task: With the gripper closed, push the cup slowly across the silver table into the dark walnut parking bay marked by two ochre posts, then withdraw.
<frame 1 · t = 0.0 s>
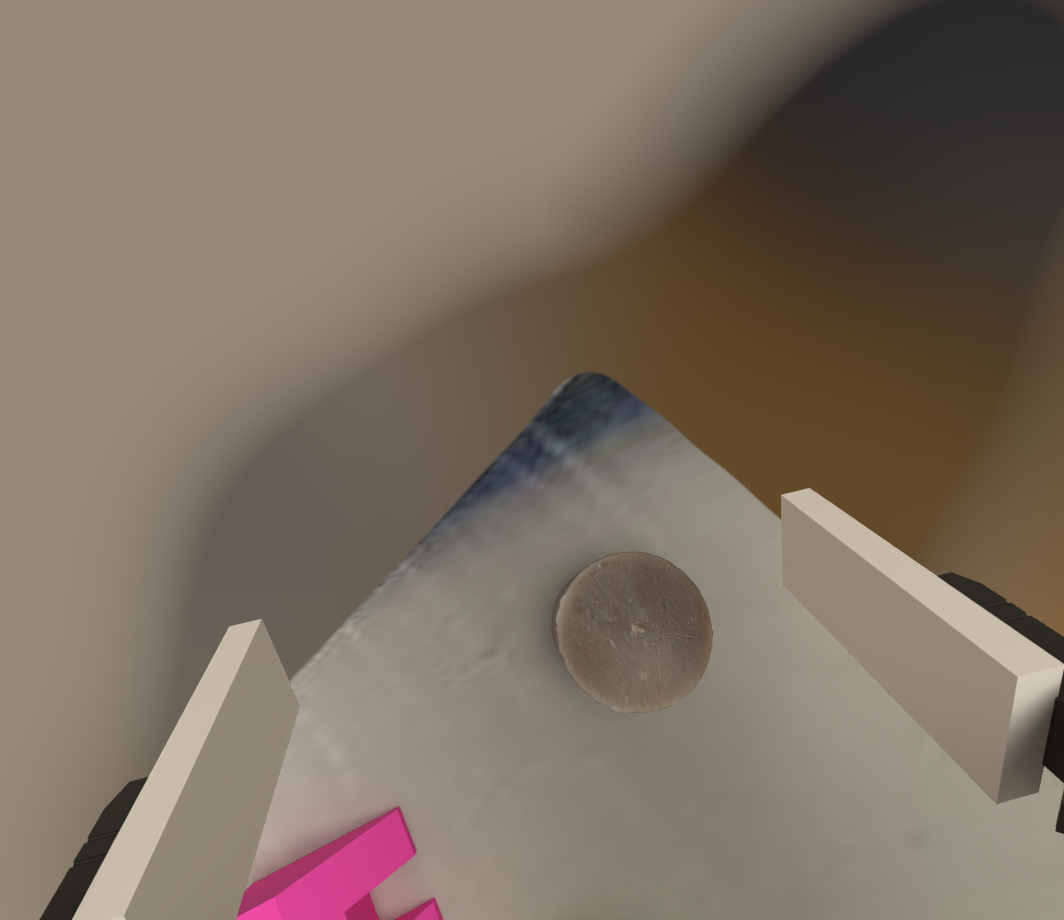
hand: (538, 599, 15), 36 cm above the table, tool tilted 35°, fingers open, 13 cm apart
bracket: (352, 912, 44), on the table
pillar candle: (606, 624, 50), on the table
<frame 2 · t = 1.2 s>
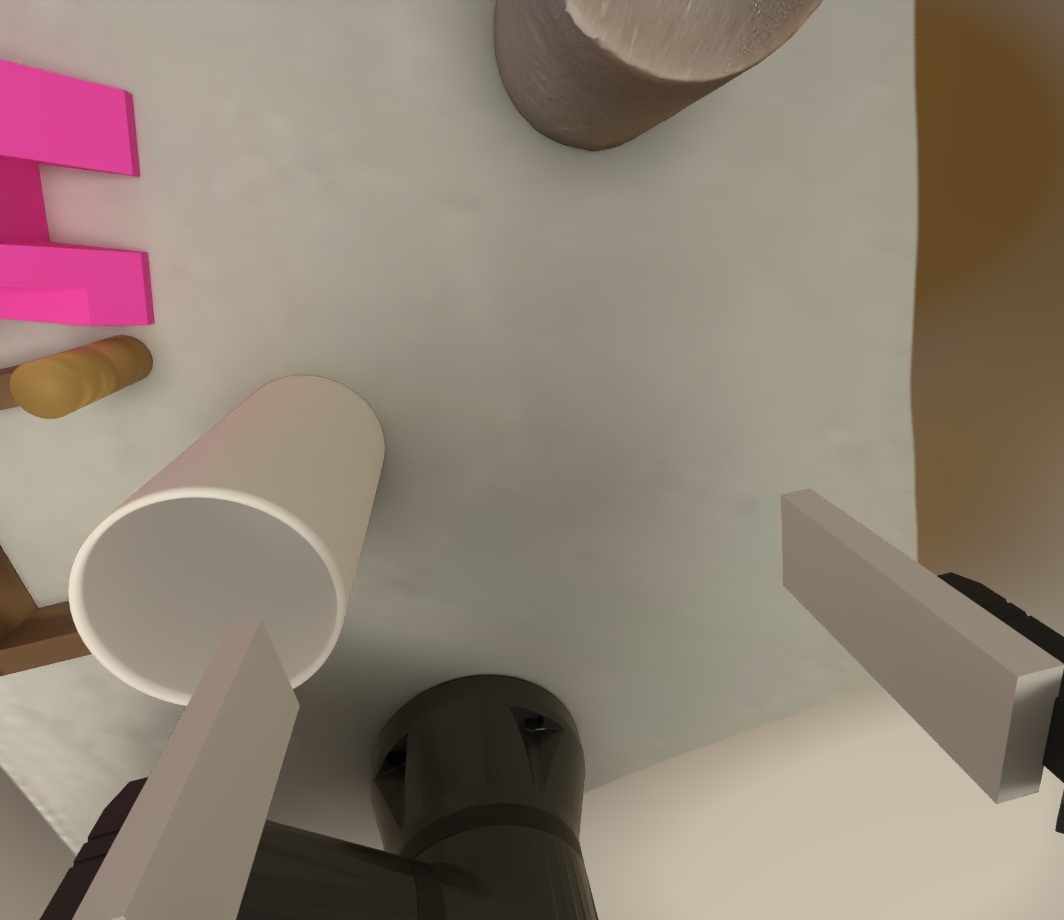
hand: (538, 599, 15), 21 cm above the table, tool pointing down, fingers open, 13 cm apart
cup: (311, 444, 34), on the table
bay: (77, 498, 33), on the table
bracket: (7, 199, 28), on the table
pillar candle: (586, 39, 29), on the table
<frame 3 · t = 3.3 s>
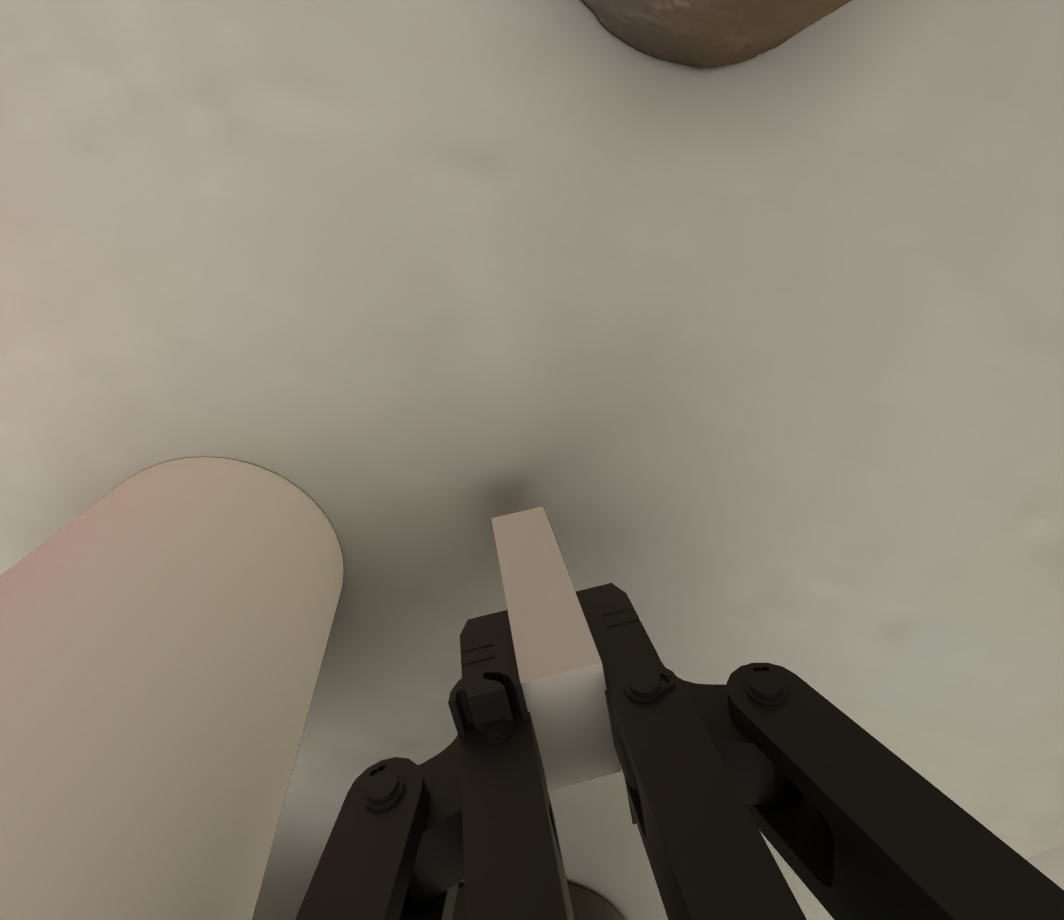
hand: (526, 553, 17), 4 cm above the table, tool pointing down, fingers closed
cup: (222, 565, 21), on the table
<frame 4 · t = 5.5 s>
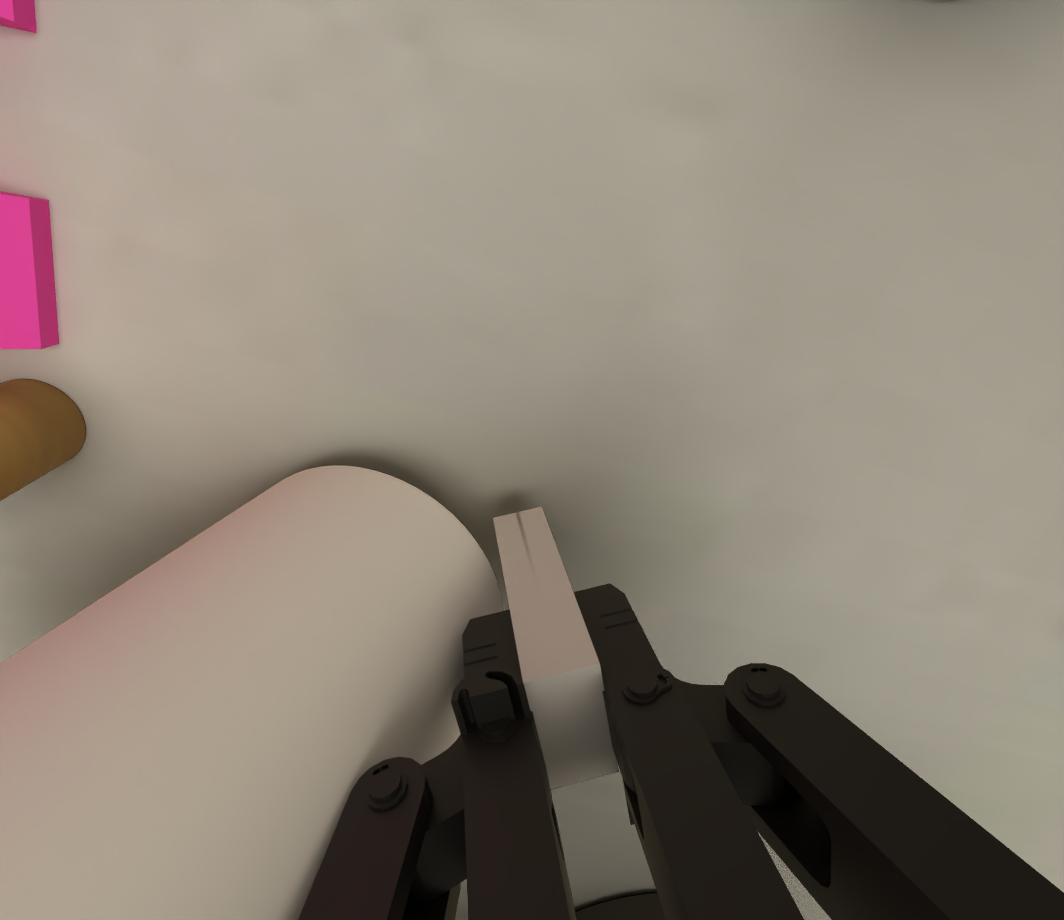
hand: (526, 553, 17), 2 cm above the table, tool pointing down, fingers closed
cup: (372, 591, 17), point 1 cm above the table, touching gripper, hand
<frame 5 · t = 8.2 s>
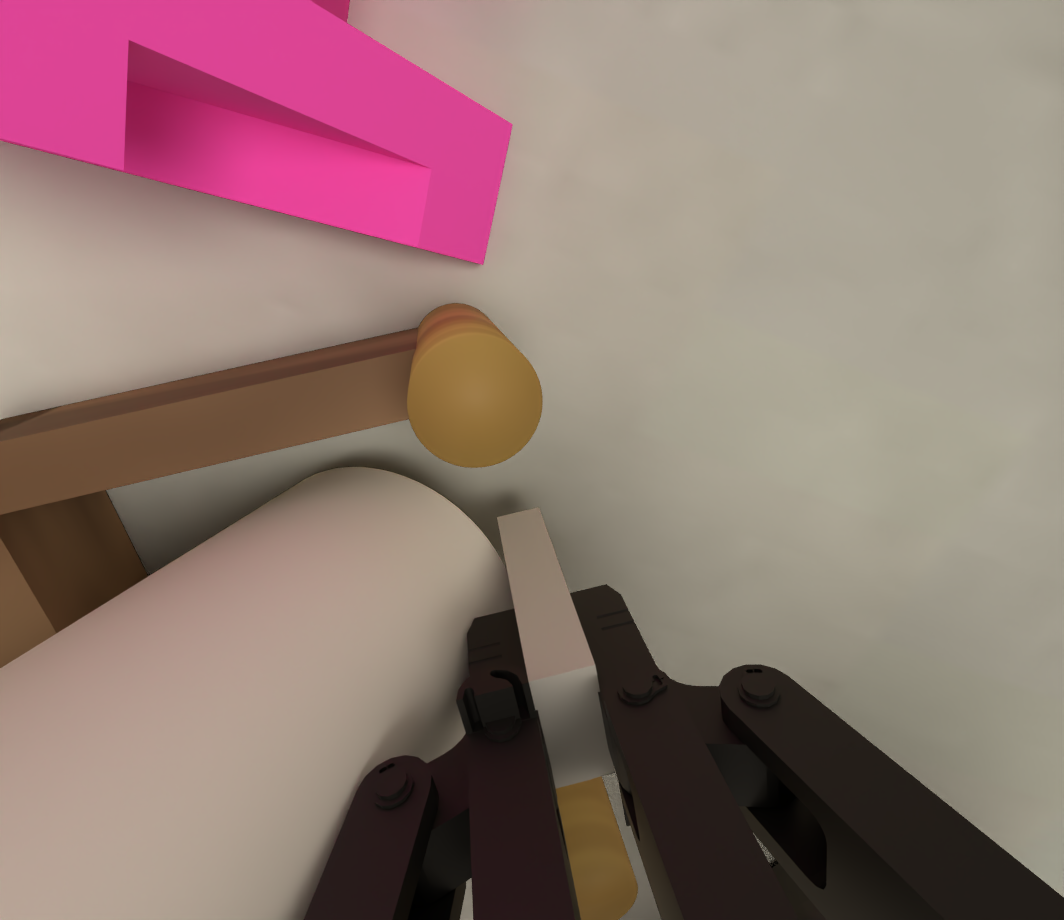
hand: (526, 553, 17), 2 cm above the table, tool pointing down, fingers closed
cup: (389, 592, 17), point 2 cm above the table, touching gripper, hand
bay: (335, 591, 19), on the table
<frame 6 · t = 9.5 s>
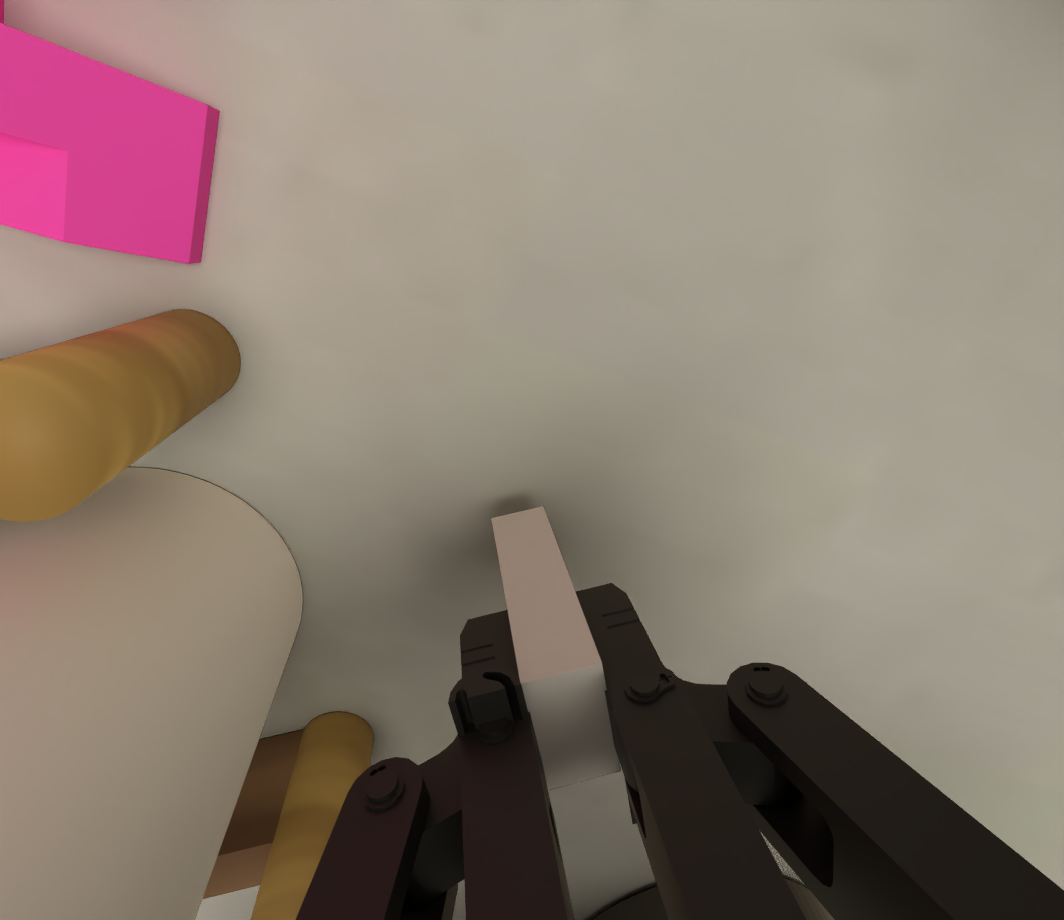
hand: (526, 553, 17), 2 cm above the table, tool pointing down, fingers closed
cup: (160, 591, 18), on the table
bay: (83, 616, 17), on the table
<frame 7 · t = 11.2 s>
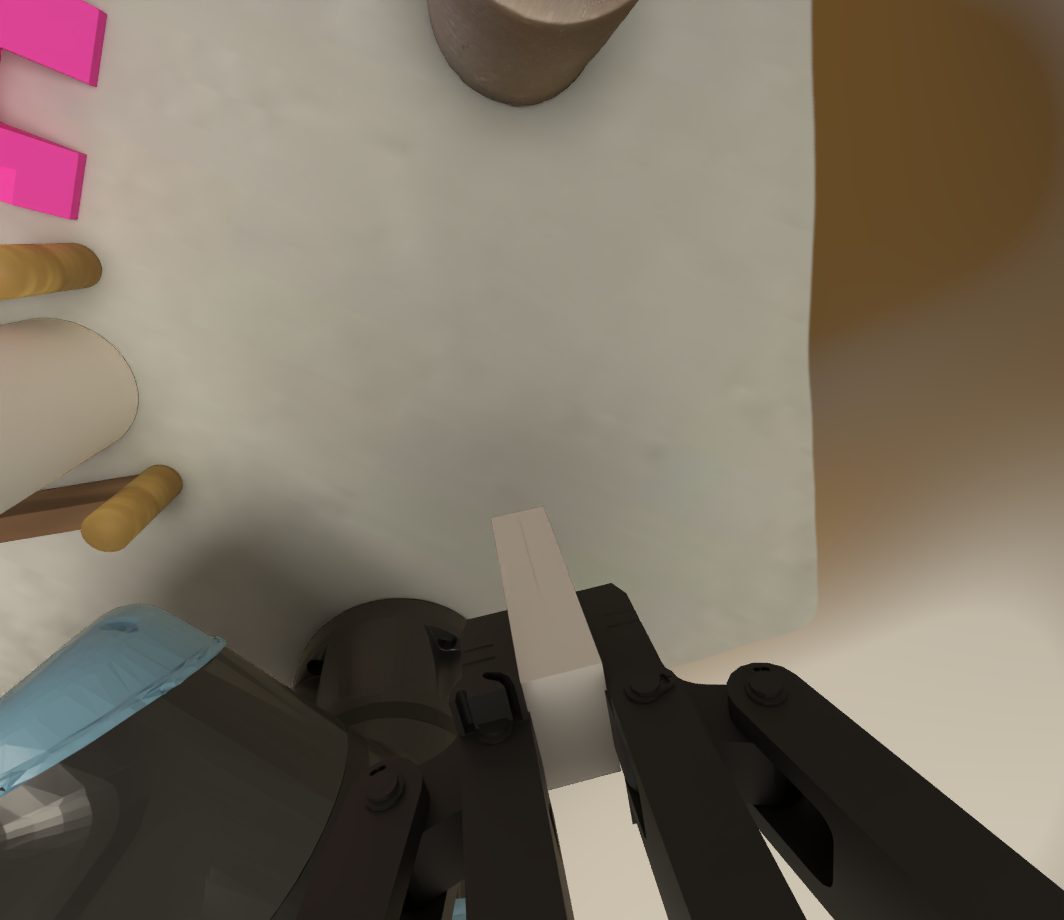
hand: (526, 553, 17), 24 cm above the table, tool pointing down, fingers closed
cup: (64, 386, 36), on the table
bay: (25, 395, 35), on the table
pillar candle: (513, 4, 32), on the table
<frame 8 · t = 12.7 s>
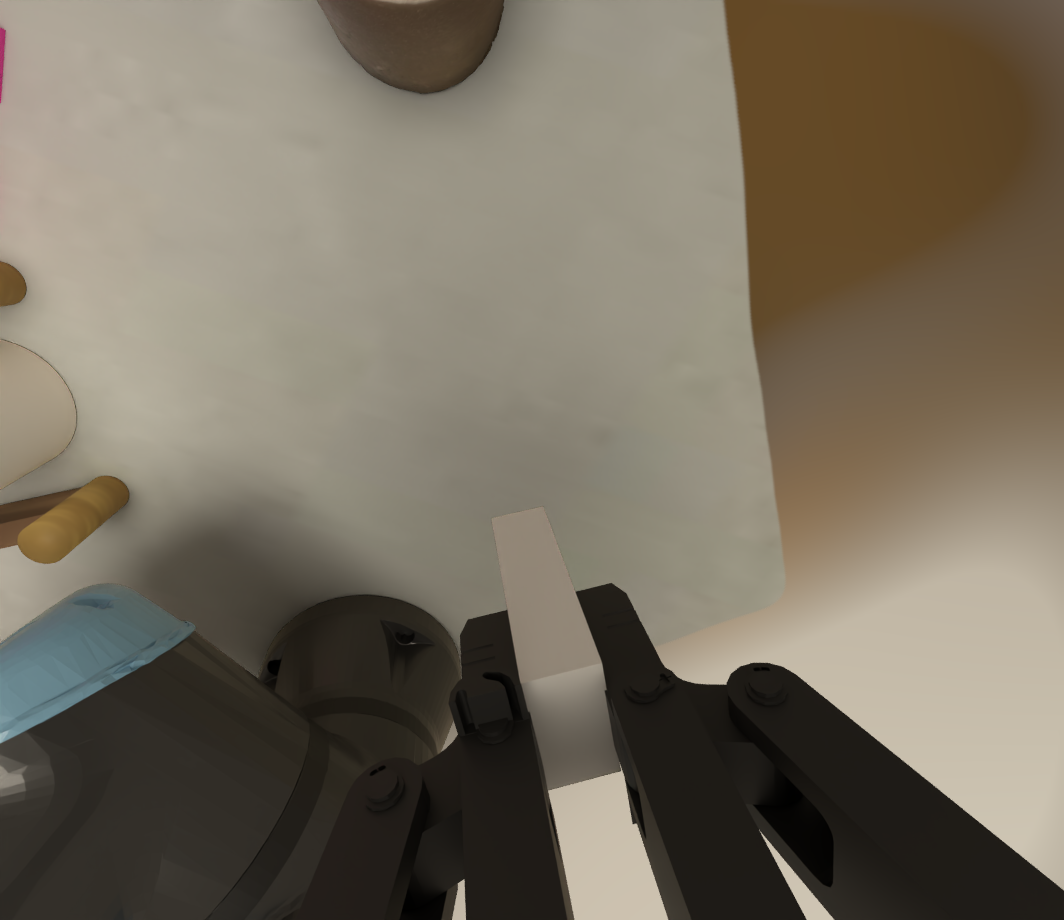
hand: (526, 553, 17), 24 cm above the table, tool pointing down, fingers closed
cup: (3, 403, 36), on the table
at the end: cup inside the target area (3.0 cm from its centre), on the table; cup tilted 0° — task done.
